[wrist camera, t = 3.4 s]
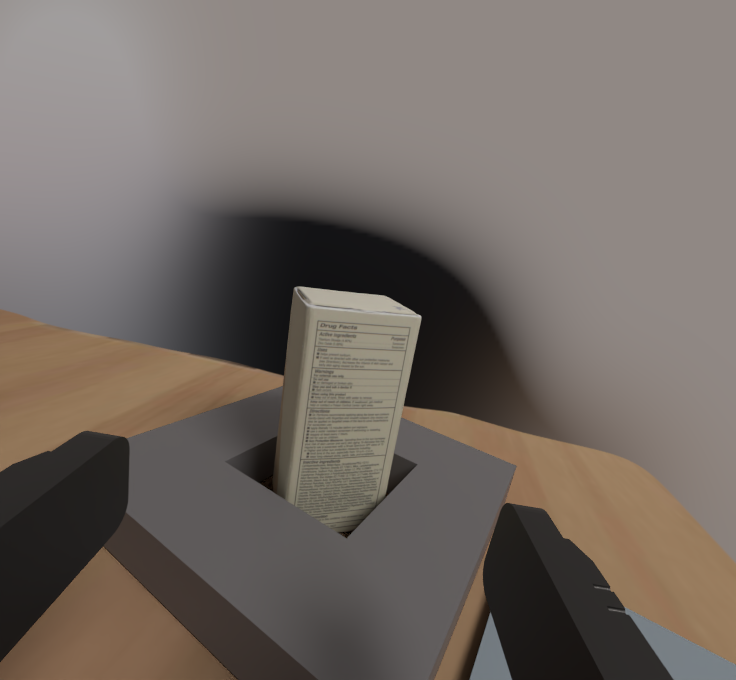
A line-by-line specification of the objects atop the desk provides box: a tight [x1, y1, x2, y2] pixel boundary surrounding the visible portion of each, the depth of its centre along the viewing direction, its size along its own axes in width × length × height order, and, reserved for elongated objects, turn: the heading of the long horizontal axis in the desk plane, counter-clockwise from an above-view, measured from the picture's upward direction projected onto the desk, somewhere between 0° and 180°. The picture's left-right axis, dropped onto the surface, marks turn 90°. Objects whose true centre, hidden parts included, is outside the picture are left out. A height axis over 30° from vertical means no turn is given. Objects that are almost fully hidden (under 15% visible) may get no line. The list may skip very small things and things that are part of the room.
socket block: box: [104, 386, 516, 680], centre depth 20 cm, size 16×16×2 cm
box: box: [272, 287, 421, 532], centre depth 19 cm, size 5×4×11 cm
